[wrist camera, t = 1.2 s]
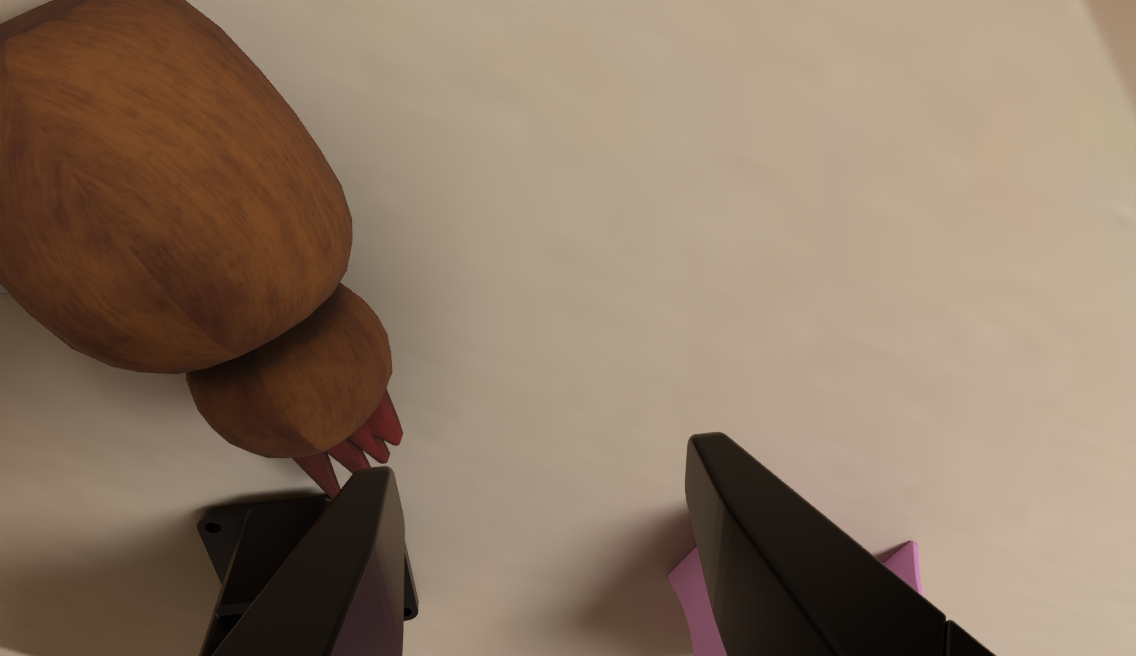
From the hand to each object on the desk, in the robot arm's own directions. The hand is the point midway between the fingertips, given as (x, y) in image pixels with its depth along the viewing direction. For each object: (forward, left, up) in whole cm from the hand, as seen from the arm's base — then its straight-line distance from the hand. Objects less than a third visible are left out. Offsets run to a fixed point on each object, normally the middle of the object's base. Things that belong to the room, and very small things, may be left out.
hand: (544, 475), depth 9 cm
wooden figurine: (+4, +9, -9) cm, 13 cm away
